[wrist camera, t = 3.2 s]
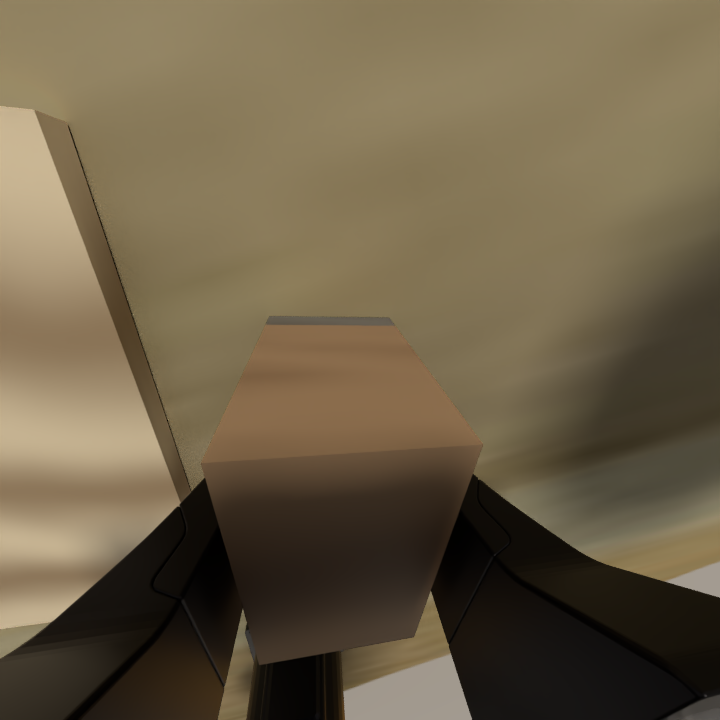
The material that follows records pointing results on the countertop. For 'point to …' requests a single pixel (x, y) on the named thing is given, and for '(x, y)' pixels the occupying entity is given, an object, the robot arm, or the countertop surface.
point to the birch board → (68, 387)
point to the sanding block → (336, 484)
